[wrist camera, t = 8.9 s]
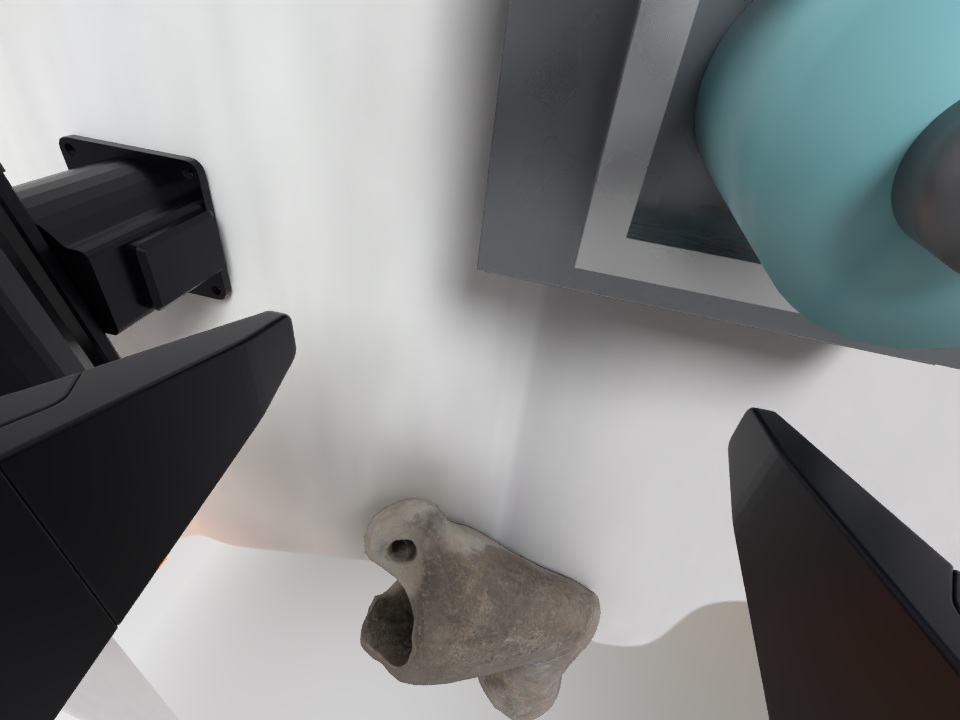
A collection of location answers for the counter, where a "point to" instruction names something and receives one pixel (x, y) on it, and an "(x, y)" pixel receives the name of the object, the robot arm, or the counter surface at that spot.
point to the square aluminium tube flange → (625, 167)
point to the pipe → (472, 611)
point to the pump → (845, 159)
